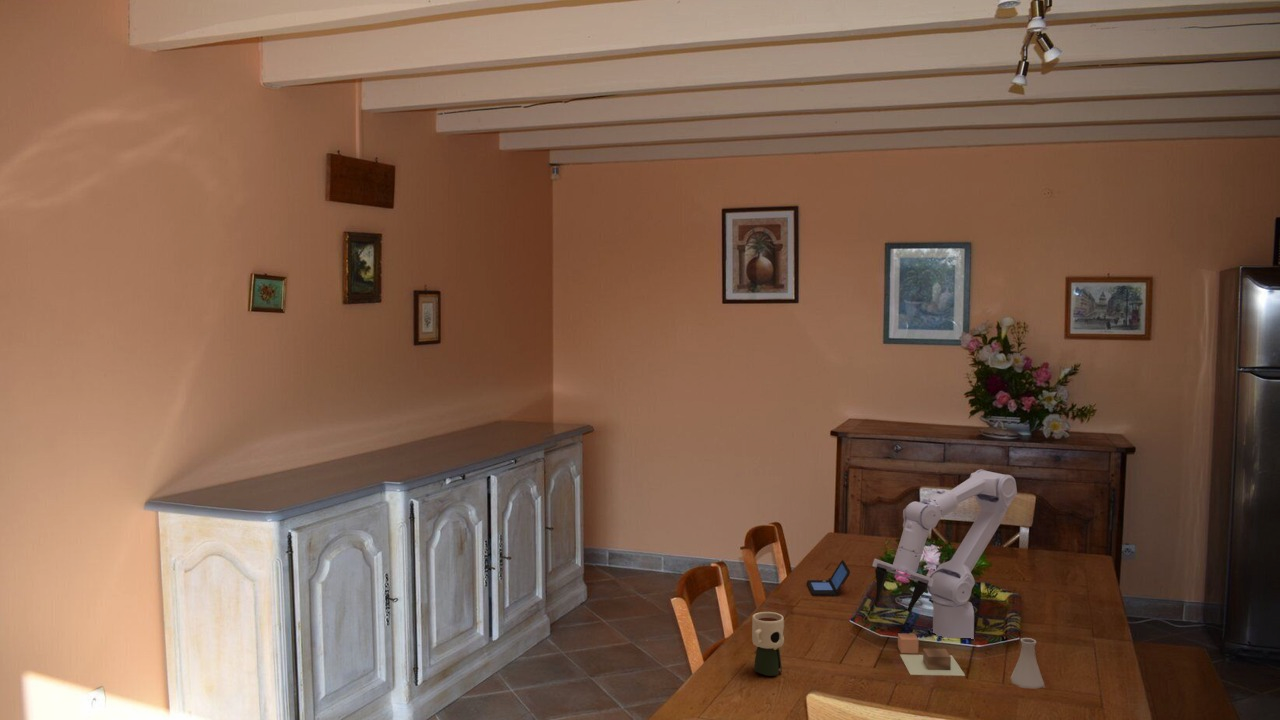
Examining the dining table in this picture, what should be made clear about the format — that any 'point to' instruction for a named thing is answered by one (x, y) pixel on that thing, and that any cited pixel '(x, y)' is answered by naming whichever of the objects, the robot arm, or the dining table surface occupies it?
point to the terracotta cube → (908, 643)
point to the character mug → (767, 642)
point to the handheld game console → (830, 582)
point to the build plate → (919, 668)
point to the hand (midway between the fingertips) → (893, 606)
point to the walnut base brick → (936, 659)
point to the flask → (1027, 667)
